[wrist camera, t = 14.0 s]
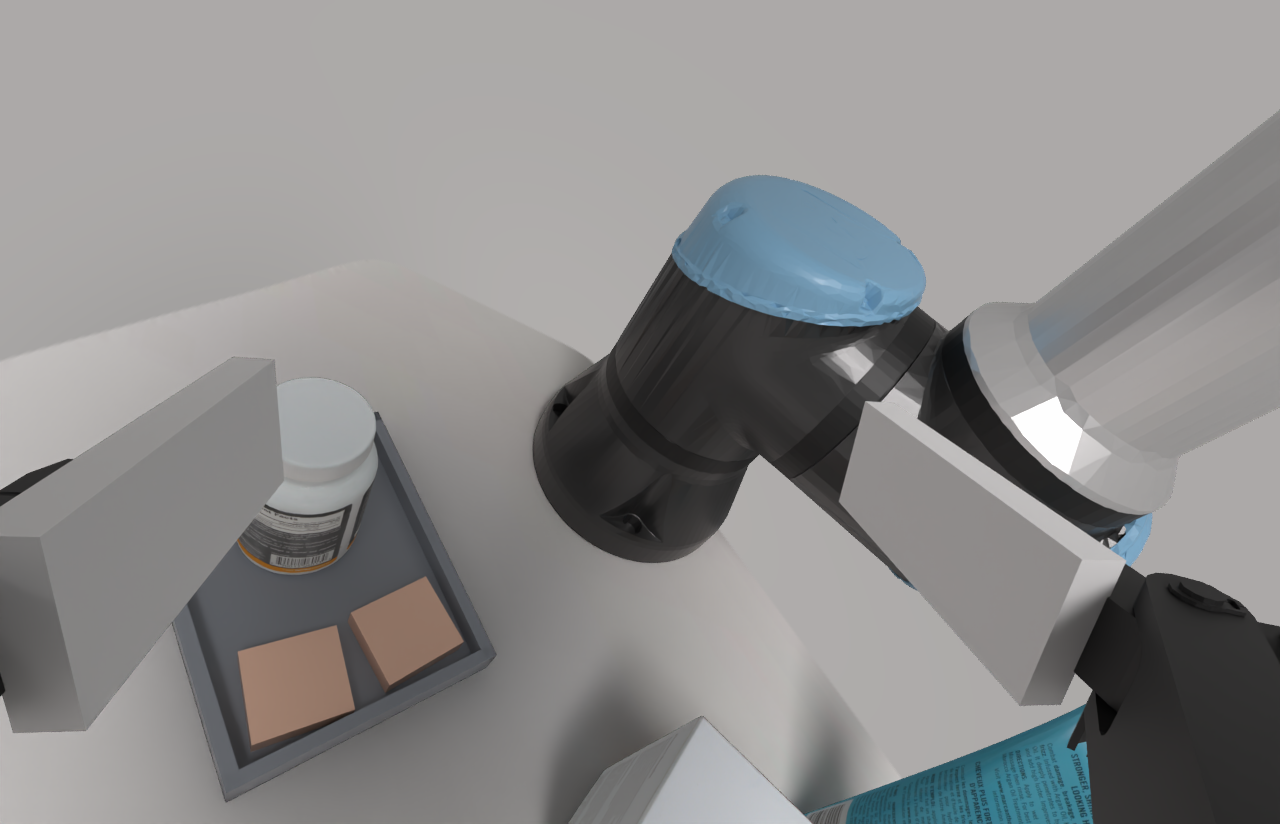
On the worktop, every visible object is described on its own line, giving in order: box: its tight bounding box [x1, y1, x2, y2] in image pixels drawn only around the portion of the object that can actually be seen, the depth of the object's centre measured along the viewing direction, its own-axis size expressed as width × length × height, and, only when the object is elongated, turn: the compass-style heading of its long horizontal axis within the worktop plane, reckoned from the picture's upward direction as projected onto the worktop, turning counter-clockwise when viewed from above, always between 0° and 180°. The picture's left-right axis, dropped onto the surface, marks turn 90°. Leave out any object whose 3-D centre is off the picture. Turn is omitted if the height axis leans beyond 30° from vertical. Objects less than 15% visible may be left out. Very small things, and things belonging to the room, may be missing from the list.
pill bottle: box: [237, 377, 378, 575], centre depth 30 cm, size 6×6×10 cm
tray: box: [172, 412, 496, 802], centre depth 32 cm, size 12×16×2 cm
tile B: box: [237, 625, 355, 752], centre depth 29 cm, size 4×4×1 cm
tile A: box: [348, 576, 464, 693], centre depth 32 cm, size 4×4×1 cm
